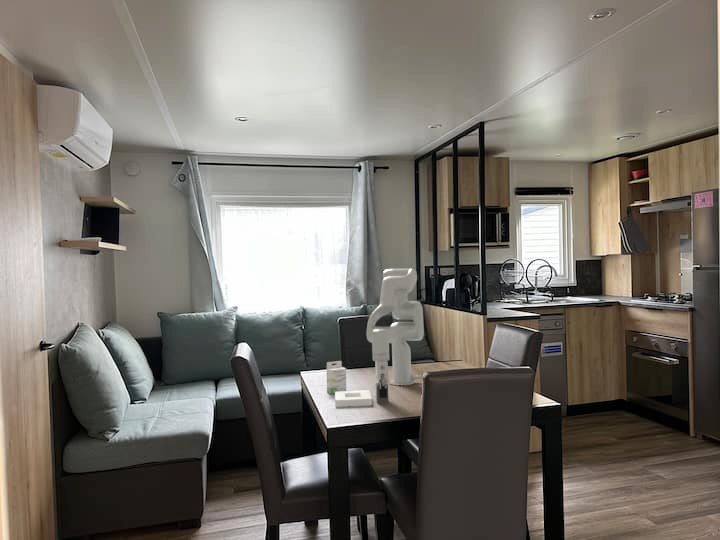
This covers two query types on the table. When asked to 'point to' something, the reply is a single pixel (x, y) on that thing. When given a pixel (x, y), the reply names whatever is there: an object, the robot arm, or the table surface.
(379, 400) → the plug
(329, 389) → the ink box
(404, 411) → the table surface
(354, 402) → the socket
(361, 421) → the table surface
